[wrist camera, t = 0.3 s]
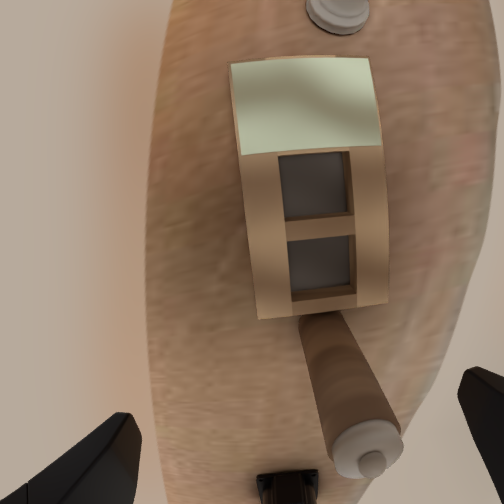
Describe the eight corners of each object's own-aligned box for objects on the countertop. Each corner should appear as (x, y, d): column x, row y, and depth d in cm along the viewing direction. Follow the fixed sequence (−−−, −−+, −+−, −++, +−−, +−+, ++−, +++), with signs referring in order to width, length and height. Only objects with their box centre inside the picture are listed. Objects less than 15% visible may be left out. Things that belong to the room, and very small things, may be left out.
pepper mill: (342, 341, 24) (406, 485, 10) (299, 346, 24) (332, 503, 10) (342, 301, 23) (423, 439, 9) (296, 306, 23) (337, 460, 9)
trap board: (378, 292, 22) (389, 303, 20) (257, 307, 23) (257, 320, 21) (360, 65, 19) (370, 55, 16) (229, 71, 19) (227, 61, 17)
